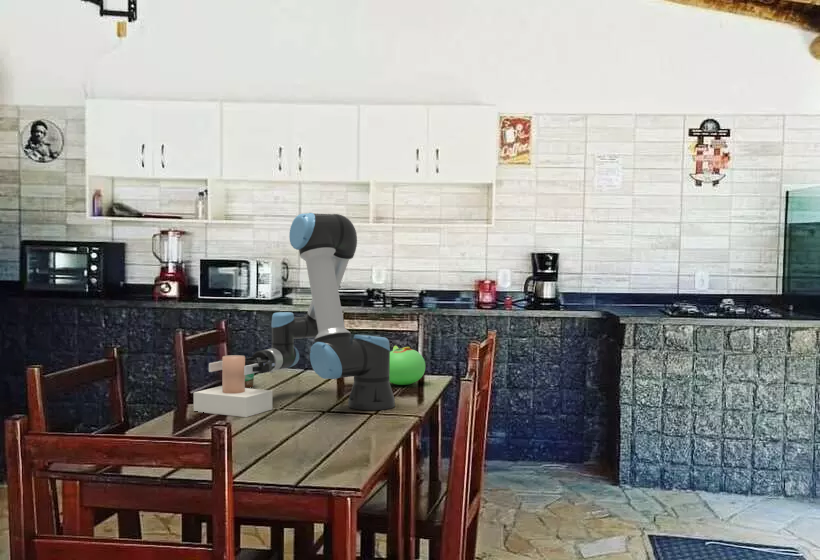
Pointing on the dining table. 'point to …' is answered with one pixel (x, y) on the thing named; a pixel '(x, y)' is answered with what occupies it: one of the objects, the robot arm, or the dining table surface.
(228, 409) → the cream riser
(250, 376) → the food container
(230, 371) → the terracotta canister
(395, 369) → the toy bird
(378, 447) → the dining table surface
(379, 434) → the dining table surface
